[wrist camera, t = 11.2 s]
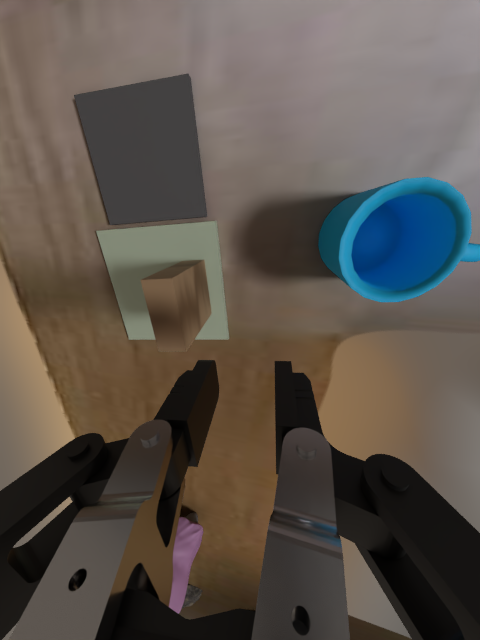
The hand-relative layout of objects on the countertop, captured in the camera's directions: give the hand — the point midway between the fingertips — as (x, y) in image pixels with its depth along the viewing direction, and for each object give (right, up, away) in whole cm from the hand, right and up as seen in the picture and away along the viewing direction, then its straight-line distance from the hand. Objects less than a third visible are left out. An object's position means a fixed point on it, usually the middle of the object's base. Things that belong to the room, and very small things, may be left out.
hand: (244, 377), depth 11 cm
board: (-9, +7, +17) cm, 21 cm away
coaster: (-10, +19, +12) cm, 24 cm away
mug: (+14, +11, +12) cm, 22 cm away
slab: (-5, +6, +16) cm, 18 cm away
